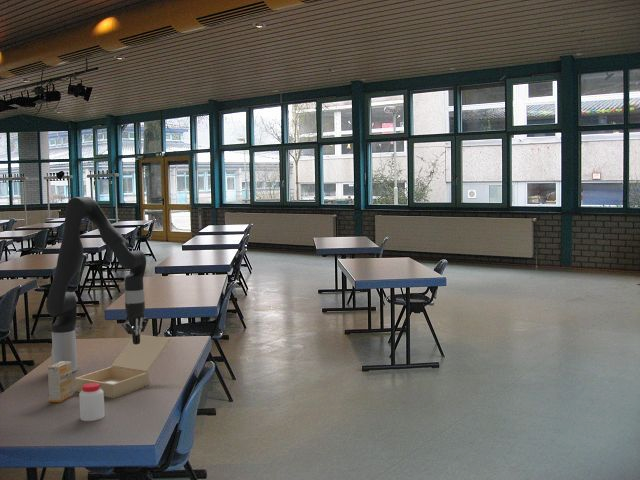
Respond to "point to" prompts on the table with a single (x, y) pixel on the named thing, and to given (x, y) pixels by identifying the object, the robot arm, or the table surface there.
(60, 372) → the supplement box
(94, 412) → the pill bottle
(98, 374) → the box
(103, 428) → the table surface
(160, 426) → the table surface
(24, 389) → the table surface
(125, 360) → the flap
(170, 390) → the table surface
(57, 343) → the robot arm
